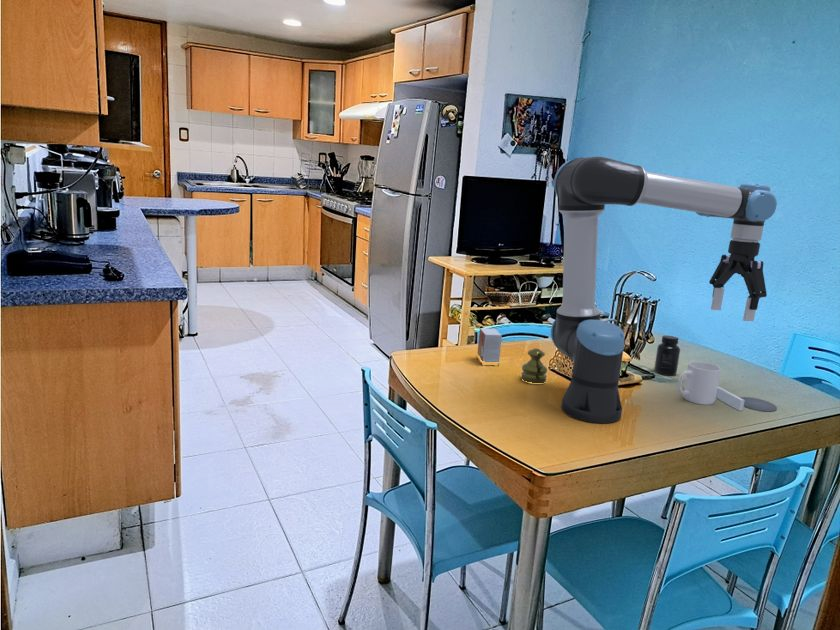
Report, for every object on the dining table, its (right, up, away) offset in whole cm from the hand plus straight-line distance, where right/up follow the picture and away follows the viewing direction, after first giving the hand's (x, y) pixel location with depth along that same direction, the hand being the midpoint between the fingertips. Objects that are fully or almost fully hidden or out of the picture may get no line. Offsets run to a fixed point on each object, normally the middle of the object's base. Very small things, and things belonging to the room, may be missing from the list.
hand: (731, 315), depth 167 cm
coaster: (+7, -25, -1) cm, 26 cm away
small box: (-67, -16, +24) cm, 72 cm away
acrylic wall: (-2, -24, 0) cm, 25 cm away
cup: (-11, -24, 0) cm, 27 cm away
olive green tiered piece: (-55, -20, +8) cm, 59 cm away
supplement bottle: (-9, -19, +24) cm, 32 cm away
